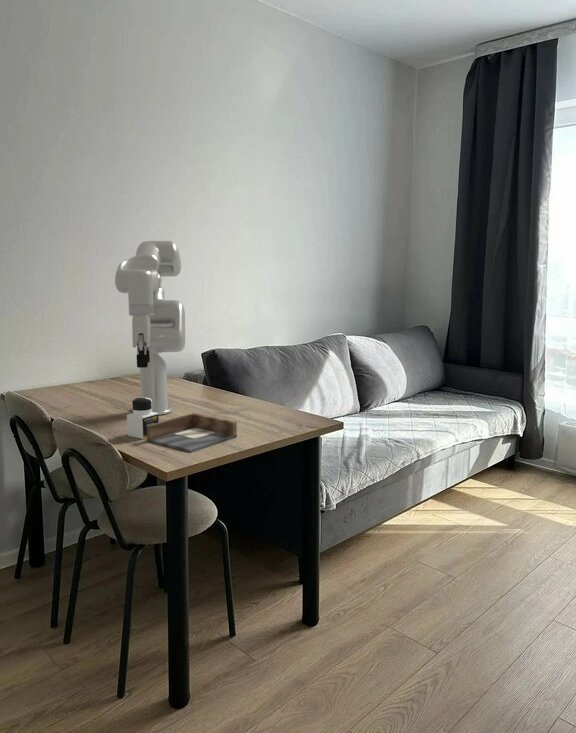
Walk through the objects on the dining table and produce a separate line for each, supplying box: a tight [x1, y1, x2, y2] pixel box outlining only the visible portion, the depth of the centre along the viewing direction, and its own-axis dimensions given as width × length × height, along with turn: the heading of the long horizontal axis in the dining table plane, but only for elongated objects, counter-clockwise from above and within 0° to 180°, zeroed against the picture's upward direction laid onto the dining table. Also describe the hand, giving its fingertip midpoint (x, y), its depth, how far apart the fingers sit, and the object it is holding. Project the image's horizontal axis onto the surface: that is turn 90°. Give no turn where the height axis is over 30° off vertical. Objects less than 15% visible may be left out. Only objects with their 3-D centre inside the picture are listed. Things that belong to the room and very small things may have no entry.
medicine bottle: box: [126, 397, 160, 440], centre depth 199 cm, size 7×7×12 cm
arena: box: [146, 412, 238, 453], centre depth 195 cm, size 19×20×5 cm
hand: (143, 364), depth 197 cm, fingers open, 9 cm apart
